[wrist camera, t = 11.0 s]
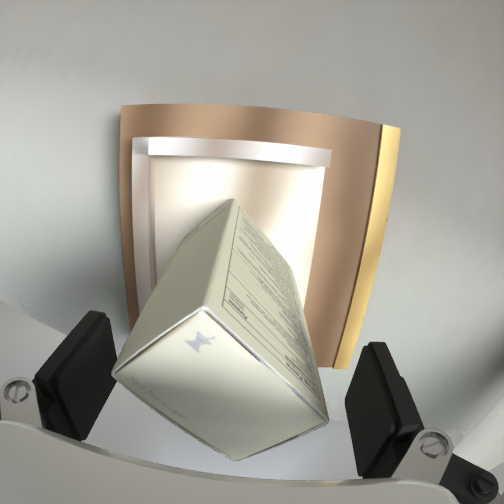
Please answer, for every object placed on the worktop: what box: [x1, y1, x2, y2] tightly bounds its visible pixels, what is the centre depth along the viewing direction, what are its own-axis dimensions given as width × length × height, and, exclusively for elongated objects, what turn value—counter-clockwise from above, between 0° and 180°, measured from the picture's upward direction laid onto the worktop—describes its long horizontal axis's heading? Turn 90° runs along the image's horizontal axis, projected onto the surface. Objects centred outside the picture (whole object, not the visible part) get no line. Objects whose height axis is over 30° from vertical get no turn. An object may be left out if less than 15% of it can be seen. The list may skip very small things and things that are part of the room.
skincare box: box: [111, 199, 329, 461], centre depth 15 cm, size 6×4×12 cm
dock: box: [119, 104, 401, 369], centre depth 21 cm, size 17×18×4 cm
